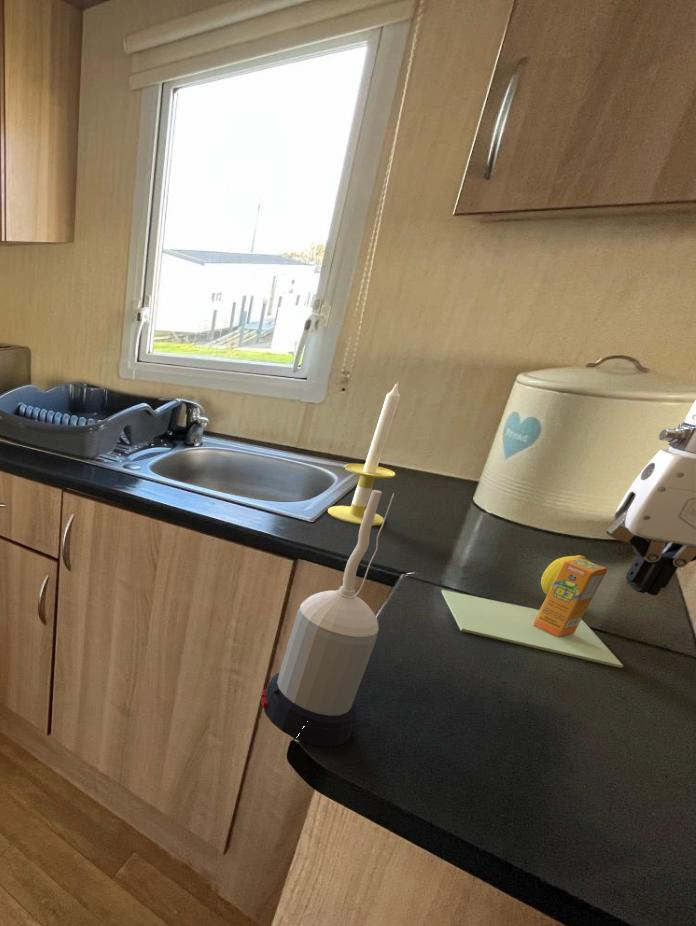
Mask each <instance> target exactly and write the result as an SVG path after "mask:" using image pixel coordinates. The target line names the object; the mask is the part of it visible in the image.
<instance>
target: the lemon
mask: <svg viewBox="0 0 696 926" xmlns="http://www.w3.org/2000/svg"><path fill="white" fill-rule="evenodd" d="M576 558H581V559H583V560H585V561H588V562H591V560H589V559H586V556H585V555H581V554H577V555H567V556H563V557H559V558H557V559H555V560H553V561H552V562H551V563H550V564H549V565H548V566H547V567H546V568H545V569H544V571H543V574H542V575H541V579H540V586H541V589H542V592H543V593H544V594H545V595H546V596H547V595H548V593H549V591H550V589H551V587H552V585H553V583H554V581H555V579H556V577H557V575H558V573H559V571H560V569H561V567H562V565H563V563H564V562H565V561H568V560H572V559H576Z"/></svg>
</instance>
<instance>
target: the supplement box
mask: <svg viewBox="0 0 696 926" xmlns="http://www.w3.org/2000/svg"><path fill="white" fill-rule="evenodd" d="M588 561H589V560H588ZM588 561H585V560H583V559H581V558H576V559H572V560H568V561H565V562H564V563H563V565H562V567H561V569H560V571H559V573H558V575H557V577H556V579H555V581H554V583H553V585H552V587H551V589H550V591H549V593H548V595H546V597H545V599H544V601H543V602H542V605H541V606H540V609H539V610H540V611H539V612H538V614H537V616H536V619H535V621H534V623H533V625H534V626H536V627H538V628H540V629H542V630H545V631H547V632H549V633H551V634H553V635H555V636H557V637H562V636H565V635H569V634H572V633H574V632H575V631H576V629H577V627H578V625H579V623H580V621H581V619H582V620H583V617H584V615H585V613H586V611H587V610H588V607H589V606H590V604H591V602H592V600H593V598H594V596H595V594H596V593H597V591H598V589H599V587H600V585H601V583H602V581H603V579H604V577H605V576H606V574H607V572H608V567H606V566H602V565H600V564H596V563H593V562H591V561H590V562H588Z"/></svg>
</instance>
